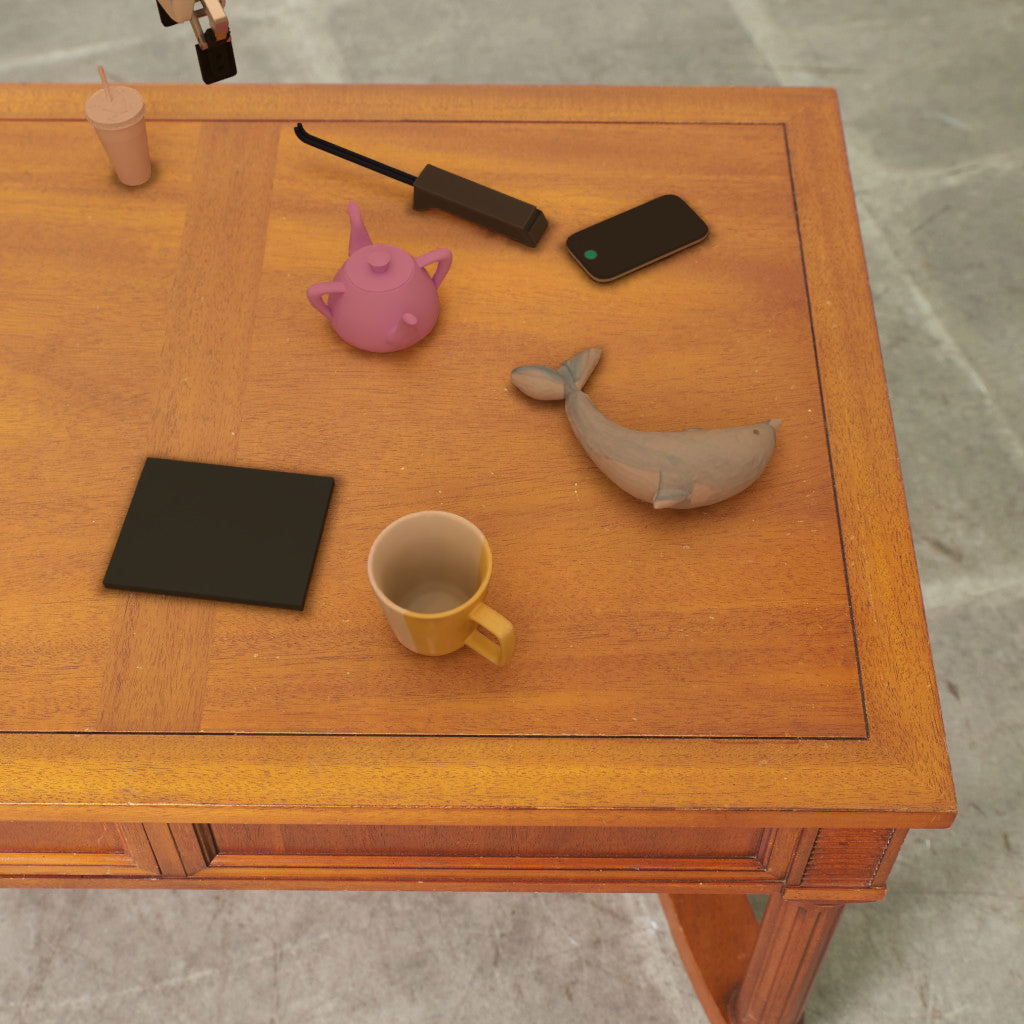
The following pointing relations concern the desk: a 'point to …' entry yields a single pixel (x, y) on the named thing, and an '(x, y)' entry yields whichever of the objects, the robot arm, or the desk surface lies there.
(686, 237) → the smartphone
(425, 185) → the hook tool
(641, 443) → the sculpture
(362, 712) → the desk surface
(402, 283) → the teapot
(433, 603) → the mug
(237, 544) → the mat
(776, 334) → the desk surface
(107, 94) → the smoothie
